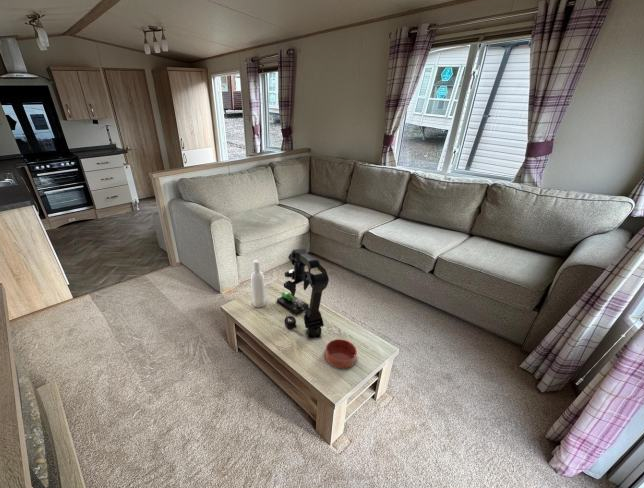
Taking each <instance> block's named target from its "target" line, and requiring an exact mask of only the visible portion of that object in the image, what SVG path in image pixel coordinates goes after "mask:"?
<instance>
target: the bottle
mask: <svg viewBox="0 0 644 488" xmlns="http://www.w3.org/2000/svg"><path fill="white" fill-rule="evenodd" d="M260 265H261V262H260V260H259V259H254V260H253V261H252V267H253V272H252V273H251V275H250V285H251V286H250V287H251V295H252V296H251V297H252V305H253V306H254V307H255V308H263V307H264V306H266V301H267V300H266V286H265V274H264V273H263V272H262V271H261V266H260Z"/></svg>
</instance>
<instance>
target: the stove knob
mask: <svg viewBox="0 0 644 488" xmlns="http://www.w3.org/2000/svg"><path fill="white" fill-rule="evenodd" d="M302 301H303V299H302V298H298V299H296V308H302Z"/></svg>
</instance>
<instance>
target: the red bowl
mask: <svg viewBox="0 0 644 488" xmlns="http://www.w3.org/2000/svg"><path fill="white" fill-rule="evenodd" d="M357 355H358V353H357V349H356V346H355V345H354V344H353V343H352V342H350V341H348V340H346V339H341V338H339V339H333V340H331V341H329V342H328V343H327V344H326V347H325V359H326V361H327V362H328V364H329V365H331V366H332V367H335V368H337V369H347V368H351V367H352V366H353V365H355V363H356V361H357Z"/></svg>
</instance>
